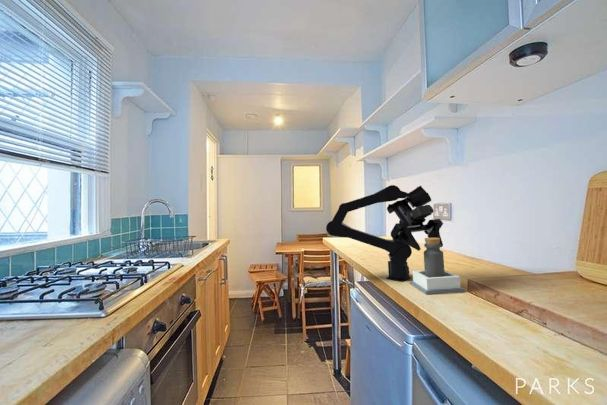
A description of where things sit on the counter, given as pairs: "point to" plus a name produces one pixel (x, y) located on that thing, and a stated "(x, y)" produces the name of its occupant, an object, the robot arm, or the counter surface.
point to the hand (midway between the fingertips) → (431, 248)
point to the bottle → (433, 258)
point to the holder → (436, 283)
